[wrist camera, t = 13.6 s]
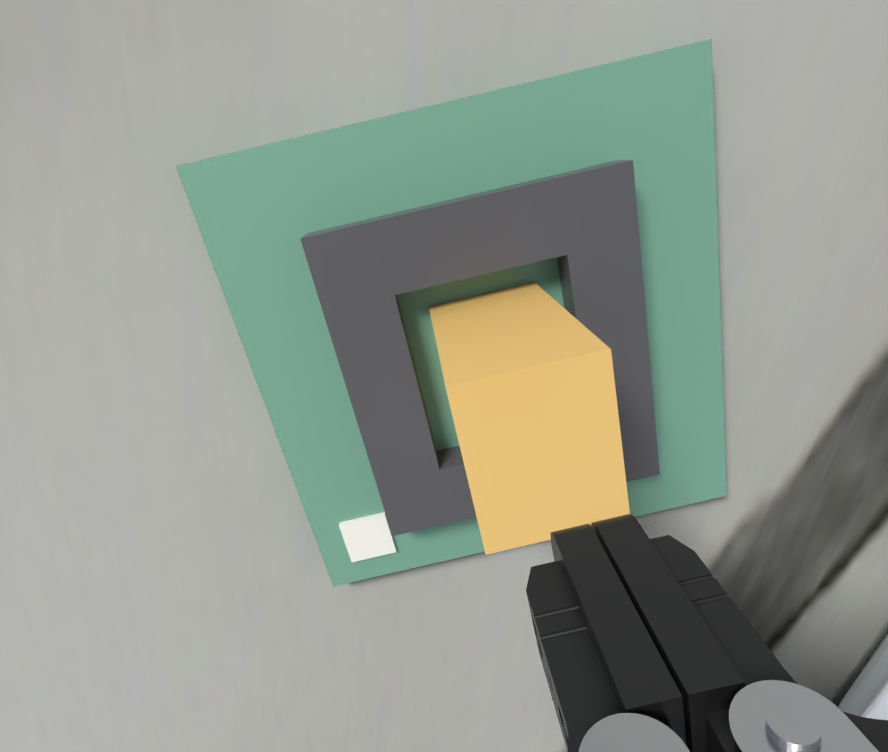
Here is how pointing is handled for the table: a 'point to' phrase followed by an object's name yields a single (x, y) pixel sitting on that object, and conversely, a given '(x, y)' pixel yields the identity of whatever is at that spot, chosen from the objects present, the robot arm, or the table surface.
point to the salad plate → (870, 687)
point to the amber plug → (531, 414)
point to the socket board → (474, 287)
